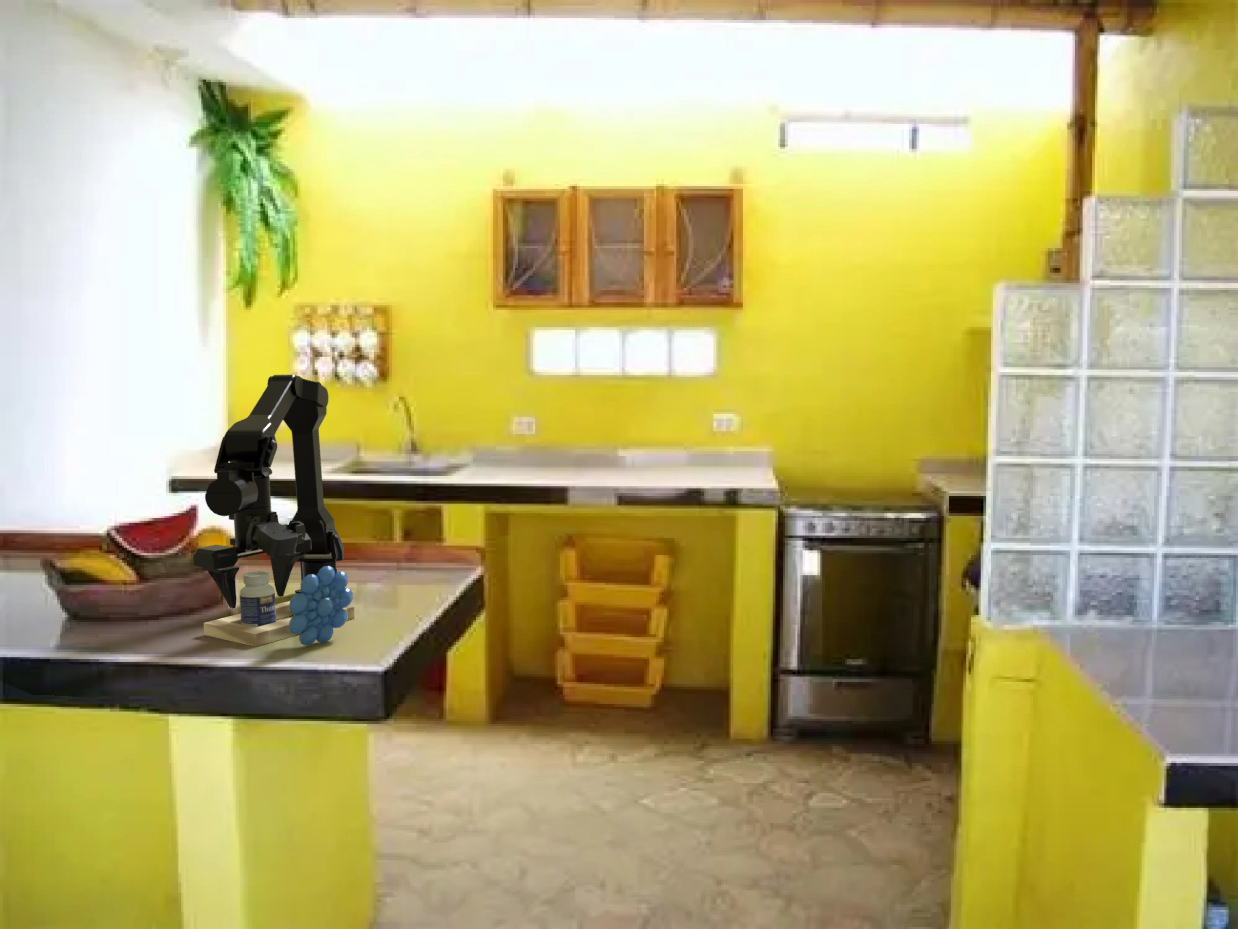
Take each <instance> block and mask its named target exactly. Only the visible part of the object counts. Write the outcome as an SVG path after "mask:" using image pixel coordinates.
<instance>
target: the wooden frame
mask: <svg viewBox="0 0 1238 929" xmlns="http://www.w3.org/2000/svg"><path fill="white" fill-rule="evenodd" d="M290 601H291V600H289V601H285V602H280V603H277V604H276V603H275V609H276V622H274V623H271V624H267V625H263V626H259V627H256V628H255V627H251V626H246V625H241V613H238V614H237V613H236V614H234V615H230V616H226V617H222V618H218V619H214V620H210V621H205V622H203V634H204V636H207V637H212V638H217V639H221V640H225V641H228V642H229V641H230V642H233V643H238V644H243V645H248V646H251V647H260V646H263V645H266V644H267V645H268V644H270V643H273V642H277V640H278V641H280V639H281V640H283V639H282V638H285V639H288V638H291V636H292V637H294V635H295V636H298V635H297V634H293V633H291V631H290V629H289V622H290V620H291V618H292V617H293V616H294V615H296V614H294V613H292V612H291V610H290ZM343 609H345V610H346V612H347V620H346V622H348V621H350V619H351V620H354V619H355V618H356V617H355V616H356V615H355V606H352V605H348V606H347V607H345V608H343ZM292 615H293V616H292ZM289 617H290V618H289ZM284 618H285V619H284ZM277 619H278V620H279V621H278V620H277ZM281 619H283V620H281ZM299 635H300V633H299Z"/></svg>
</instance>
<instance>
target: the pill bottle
mask: <svg viewBox="0 0 1238 929" xmlns="http://www.w3.org/2000/svg"><path fill="white" fill-rule="evenodd" d="M242 578H243V579H242V580H243V584H244V586H243V587H242V588H240V590H239V608H240V614H241V625H246V626H251V627H255V628H256V627H259V626H263V625H267V624H271V623H274V622H277V620H276V609H275V605H276V597H275V596H276V589H275V588H274V587H275V586H273V585H271V584H269V583H270V580H271V579H270V572H268V571H258V570H257V571H249V572H246V573H244V574H243V576H242Z"/></svg>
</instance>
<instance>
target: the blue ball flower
mask: <svg viewBox="0 0 1238 929" xmlns="http://www.w3.org/2000/svg"><path fill="white" fill-rule="evenodd" d="M300 582H301V581H300ZM348 583H349V576H348V574H347V573H346V572H344V571H337V573H335V571H334V569H333V568H332V567H330V566H324V567H323V568H321V569H320V570H319V572H318V574H317V576H316V575H314V574H310V575H307V576H306V577H304V579H303V580H302V582H301V583H300V589H301V591H302V593H298V594H297V593H295V594H294V595H293V596H292V598H291V599H290V600H289V601H290V610H291V612H292V613H294V614H296V615H293V616H291V617H290V618H291V620H290V622H289V629H290V631H291V633H293V634H299V633H300V634H299V638H298V640H299V642H300V644H301V645H303V646H306V647H307V646H311V645H312V644H313V643H315V642H317V643H320V644H323V643H328V642H329V641H330V640H331V639H332V637H333V635H334V629H338V628H339V629H340V628H342V627H343V626H344V625H345V624H346V622H347V621H348V620H347V612H346V610H345V609H343V608H345V607H347V606H351V603H352V602H353V598H354V596H353V591H352V589H350V588H348V587H347V585H348ZM346 620H347V621H346Z"/></svg>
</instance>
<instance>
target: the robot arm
mask: <svg viewBox="0 0 1238 929" xmlns="http://www.w3.org/2000/svg"><path fill="white" fill-rule="evenodd" d="M328 404H329V392H328V388H327V387H325V386H324V385H322V383H321V382H320V381H314V380H309V379H306V378H303V377H301V376H300V375H296V374H273V375H270V376H269V377H268V379H267V386H266V387H265V389H264V391H263V392H262V394H261V395H260V397H259V399H258V400H257V402H256V404H255V405H254V406H253V408H252V410H251V412H250V413H249V415H248V416H247V417H245V418H244V419H243V418H242V419H241V420H239V421H236V422H234V423H233V424H232V425H231V426H230V428H228V429H227V430H226V432H225V434H224V436H223V437H222V439H221V441H220V446H219V449H218V453H217V456H216V457H217V458H216V461H215V466H214V469H213V472H214V474H216V479H215V480H214V481H212V482H211V483H210V484H209V485H208V487H207V489H206V492H205V494H204V499H205V503H206V506H207V507H208V509H209V510H210V511H211V512H212V513H213V514H214V515H215V514H216V515H217V516H220V517H228V520H231V521H233V524H234V525H233V526H234V528H233V529H234V537H230V538H229V545H230V546H227V545H222V544H220V545H219V544H212V545H207V546H202V547H197V548H196V550H195V551H194V553H193V554H192V556H193V560H192V561H193V566H194V567H198V568H201V571H206V572H207V573H208V575H209V576H210V577H211V578H212V580H213V581H214V583H215V584H216V585H217V587H218V589H219V591H220V593H221V594H222V597H223V598H224V599H225V601H226V603H227V605H228V607H229V608H230V609H236V607H237V585H236V575H237V573H238V572H239V570H240V567H239V566H235V565H236V563H237V562H238V561H239V559H241V558H247V557H253V556H257V555H260V554H261V555H262V554H266V555H267V556H268V557H269V558H270V563H271V570H272V576H273V584H274V587H275V588H274V589H275V593H276V594H277V597H280V598H281V597H284V594H285V592H286V590H287V589H286V588H287V586H288V583H289V579H290V576H291V572H292V570H293V568H294V565H295V564H296V563H297V562H298V563H300V582H302V580H303V579H304V577H306V576H307V575H310V574H314V575H316V576H317V574H318V572H319V570H320V569H321V568H323V567H324V566H330V567H332V568H333V569H334V571H335V573H337V572H338V569H337V562H340V561H342V562H343V561H344V560H345V559H344V555H345V547H344V546H345V545H344V544H343V541H342V540H341V537H340V535H339V533H338V531H337V530H336V526H335V520H334V517H333V516H332V515H331V513H330V512H329V511H328V509H327V508H326V507H325V501H324V490H323V489H324V488H323V486H324V485H323V476H322V460H321V446H320V445H321V444H320V432H319V431H320V427H321V425H322V423H323V422H324V419H325V417H326V415H327V414H328V413H327V411H328V410H327V407H328V406H329V405H328ZM282 422H284V424H285V425H286V426H287V428H289V430H290V431H291V439H292V440H291V442H292V453H293V467H294V478H295V479H294V482H295V494H296V506H297V508H296V509H297V510H296V512H295V514H294V516H293V517H292V519H291V520H290V521H289V522H288V523H284V524H282V523H279V517H278V514H277V511H273V510H272V501H271V499H272V497H271V483H270V481H271V480H270V479H271V478H270V475H271V476H272V475H273V470H272V468H271V467H272V464H273V461H274V458H275V456H276V453H277V450H278V442H277V439H276V433H277V431H278V429H279V428H280V426H281V424H282ZM233 546H234V547H233ZM298 593H302V591H301V588H299V589H296V590H294V594H298Z"/></svg>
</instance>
